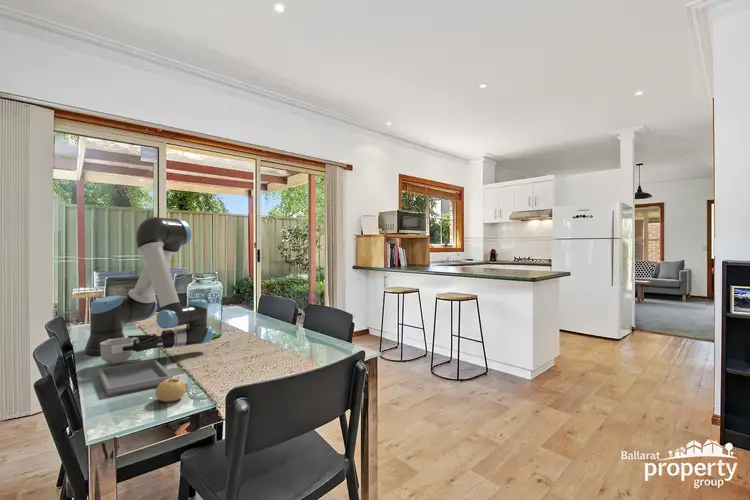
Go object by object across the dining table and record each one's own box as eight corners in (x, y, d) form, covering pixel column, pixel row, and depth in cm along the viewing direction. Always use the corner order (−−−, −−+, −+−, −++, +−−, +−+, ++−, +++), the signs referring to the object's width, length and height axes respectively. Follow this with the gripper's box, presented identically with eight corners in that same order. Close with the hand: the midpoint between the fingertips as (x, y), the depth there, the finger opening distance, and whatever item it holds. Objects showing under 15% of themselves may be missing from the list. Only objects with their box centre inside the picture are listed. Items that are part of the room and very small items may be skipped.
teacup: (106, 367, 137) (107, 345, 137) (94, 361, 143) (94, 340, 143) (146, 358, 148) (147, 338, 148) (133, 353, 154) (134, 334, 154)
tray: (98, 375, 132) (98, 368, 132) (155, 366, 145) (155, 359, 145) (107, 396, 115) (107, 388, 115) (172, 383, 127) (172, 376, 127)
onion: (154, 407, 108) (155, 382, 108) (156, 397, 116) (156, 374, 116) (185, 402, 112) (185, 379, 112) (185, 393, 119) (185, 371, 119)
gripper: (180, 353, 149) (113, 364, 134) (165, 341, 166) (105, 349, 151) (181, 335, 149) (114, 343, 134) (166, 324, 166) (105, 330, 151)
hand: (109, 346), depth 143 cm, fingers closed on teacup, 11 cm apart
